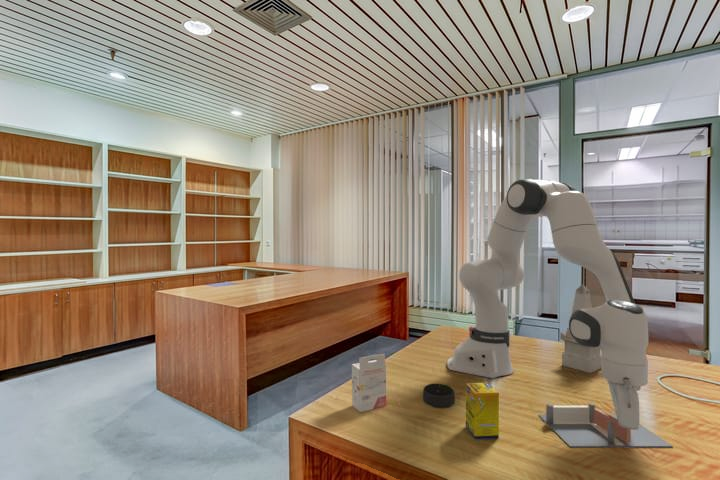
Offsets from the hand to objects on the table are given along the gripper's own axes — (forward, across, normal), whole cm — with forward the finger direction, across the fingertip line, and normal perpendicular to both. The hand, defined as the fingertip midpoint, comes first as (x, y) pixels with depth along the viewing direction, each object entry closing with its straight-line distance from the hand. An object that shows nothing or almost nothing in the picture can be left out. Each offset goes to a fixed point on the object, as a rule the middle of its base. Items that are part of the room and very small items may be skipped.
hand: (622, 429), depth 86 cm
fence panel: (+1, 0, +2) cm, 2 cm away
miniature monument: (+3, +50, +7) cm, 51 cm away
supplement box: (+2, -14, +29) cm, 33 cm away
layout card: (+2, +1, +4) cm, 5 cm away
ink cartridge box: (+2, -15, +60) cm, 62 cm away
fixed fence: (+2, -2, +8) cm, 9 cm away
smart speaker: (+2, -4, +43) cm, 44 cm away
